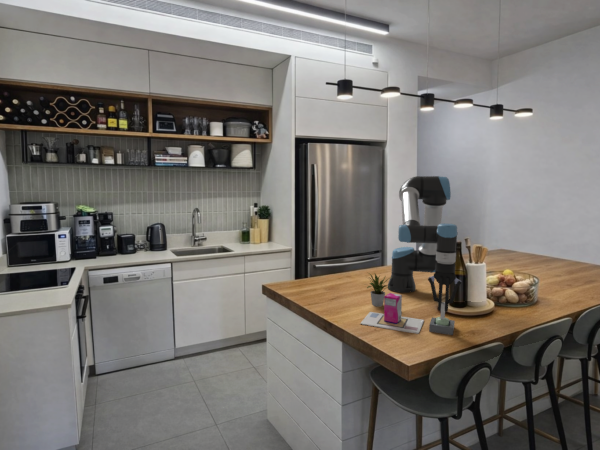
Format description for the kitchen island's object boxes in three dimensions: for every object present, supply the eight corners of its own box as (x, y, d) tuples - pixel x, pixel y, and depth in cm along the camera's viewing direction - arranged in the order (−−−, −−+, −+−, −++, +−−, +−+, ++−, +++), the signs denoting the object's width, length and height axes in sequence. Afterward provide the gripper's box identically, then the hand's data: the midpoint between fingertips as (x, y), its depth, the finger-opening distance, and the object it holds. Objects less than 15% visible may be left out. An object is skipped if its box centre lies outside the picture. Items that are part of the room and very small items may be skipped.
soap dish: (431, 324, 171) (432, 317, 170) (454, 327, 167) (454, 320, 167) (429, 331, 163) (429, 324, 162) (452, 335, 159) (453, 328, 159)
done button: (436, 325, 168) (436, 316, 168) (448, 327, 166) (449, 318, 166) (434, 329, 164) (435, 320, 163) (447, 331, 161) (448, 322, 161)
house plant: (354, 303, 197) (355, 271, 195) (372, 298, 206) (373, 267, 204) (377, 311, 187) (378, 277, 185) (395, 305, 195) (396, 272, 193)
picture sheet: (369, 312, 184) (370, 311, 184) (424, 320, 174) (424, 319, 174) (360, 324, 170) (360, 322, 170) (418, 333, 160) (418, 332, 160)
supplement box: (388, 317, 176) (389, 292, 175) (401, 320, 173) (402, 294, 171) (383, 321, 172) (384, 295, 170) (396, 324, 168) (397, 298, 167)
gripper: (427, 262, 161) (424, 319, 163) (462, 265, 155) (459, 324, 158) (429, 258, 167) (427, 313, 170) (463, 261, 162) (460, 318, 165)
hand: (442, 318), depth 164 cm, fingers closed
